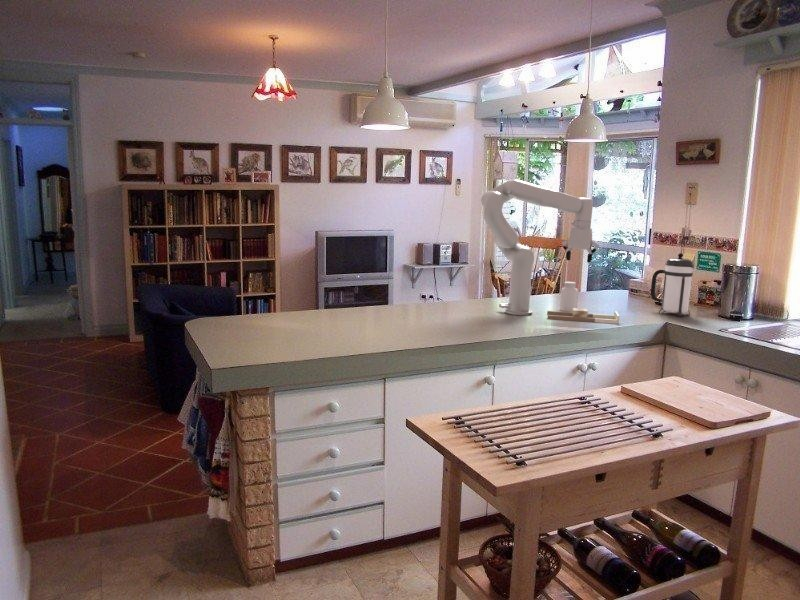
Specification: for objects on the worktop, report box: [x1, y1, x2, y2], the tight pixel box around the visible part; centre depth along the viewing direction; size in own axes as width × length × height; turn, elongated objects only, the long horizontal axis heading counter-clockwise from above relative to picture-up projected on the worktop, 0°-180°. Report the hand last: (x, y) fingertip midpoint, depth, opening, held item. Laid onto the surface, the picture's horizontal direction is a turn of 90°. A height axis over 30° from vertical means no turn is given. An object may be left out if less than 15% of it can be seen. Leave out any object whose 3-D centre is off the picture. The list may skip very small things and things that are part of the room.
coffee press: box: [650, 252, 696, 318], centre depth 309 cm, size 17×16×30 cm
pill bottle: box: [559, 281, 579, 312], centre depth 302 cm, size 8×8×15 cm
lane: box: [546, 310, 620, 325], centre depth 282 cm, size 30×12×5 cm, turn 78°
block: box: [572, 307, 589, 318], centre depth 282 cm, size 6×6×4 cm
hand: (578, 261), depth 298 cm, fingers open, 9 cm apart
